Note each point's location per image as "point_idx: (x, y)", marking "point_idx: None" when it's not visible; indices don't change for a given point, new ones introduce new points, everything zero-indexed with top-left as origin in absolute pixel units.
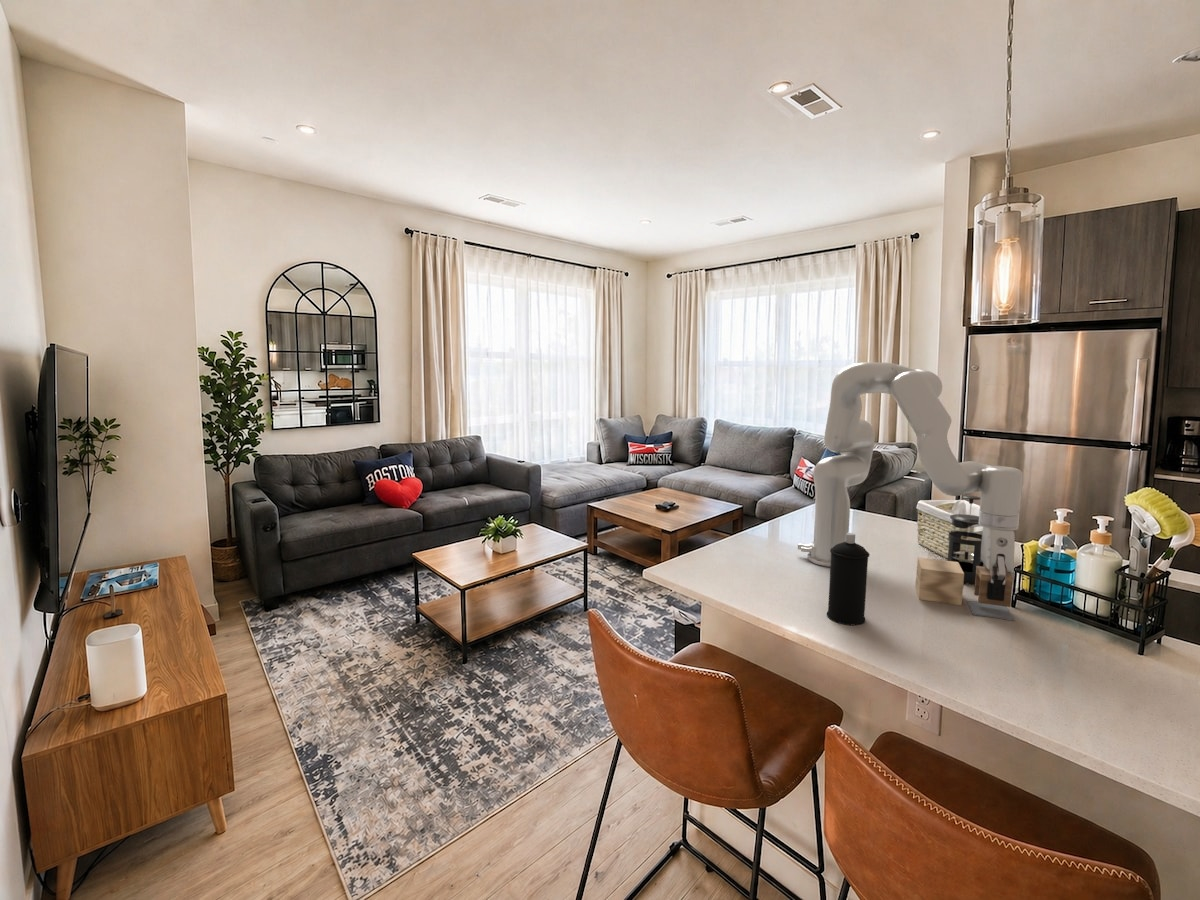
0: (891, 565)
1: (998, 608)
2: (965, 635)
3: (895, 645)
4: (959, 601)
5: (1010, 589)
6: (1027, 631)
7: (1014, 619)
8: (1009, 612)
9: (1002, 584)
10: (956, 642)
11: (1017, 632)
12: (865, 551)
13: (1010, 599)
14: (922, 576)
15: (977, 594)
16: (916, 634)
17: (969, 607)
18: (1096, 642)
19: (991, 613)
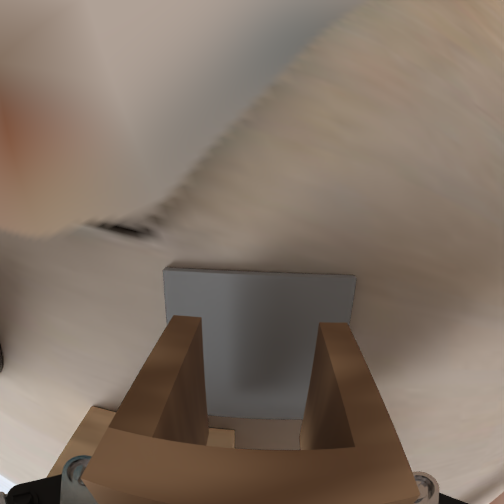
0: (15, 456)
1: (226, 318)
2: (477, 420)
3: (489, 482)
4: (233, 446)
5: (381, 409)
6: (452, 249)
7: (355, 277)
8: (266, 279)
9: (421, 483)
10: (501, 428)
11: (465, 291)
12: None
13: (358, 352)
14: None
15: (208, 429)
16: (460, 479)
17: (253, 415)
18: (452, 20)
19: (311, 361)
